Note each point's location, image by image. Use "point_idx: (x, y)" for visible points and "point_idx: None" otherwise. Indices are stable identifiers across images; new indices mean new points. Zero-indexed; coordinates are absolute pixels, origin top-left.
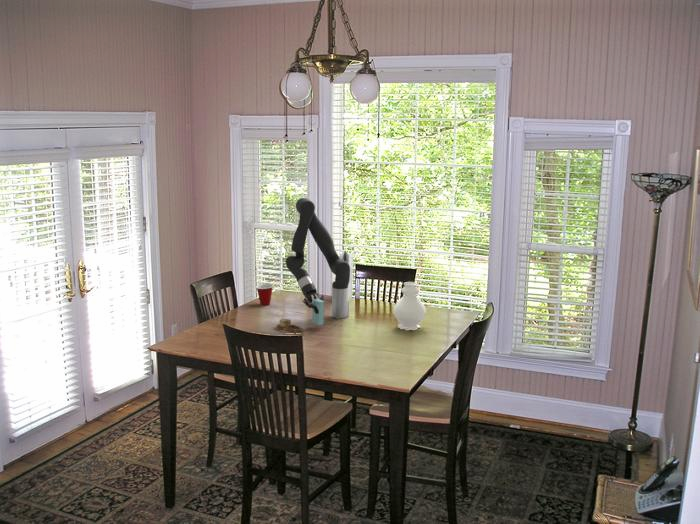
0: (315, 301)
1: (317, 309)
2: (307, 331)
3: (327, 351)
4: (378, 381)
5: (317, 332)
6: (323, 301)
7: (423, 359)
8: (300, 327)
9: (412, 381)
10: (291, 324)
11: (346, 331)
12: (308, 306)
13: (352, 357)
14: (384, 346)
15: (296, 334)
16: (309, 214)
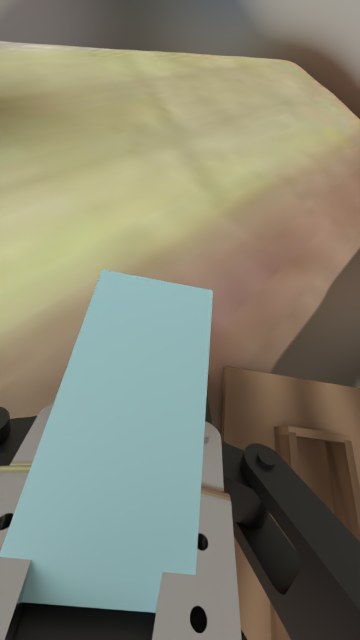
0: (197, 445)
1: None
2: (243, 413)
3: (309, 209)
4: (315, 88)
5: None
6: (121, 274)
7: (157, 62)
8: (293, 449)
9: (266, 60)
10: (285, 630)
11: (67, 282)
12: (278, 527)
13: (277, 150)
14: (139, 127)
15: (327, 415)
16: None
